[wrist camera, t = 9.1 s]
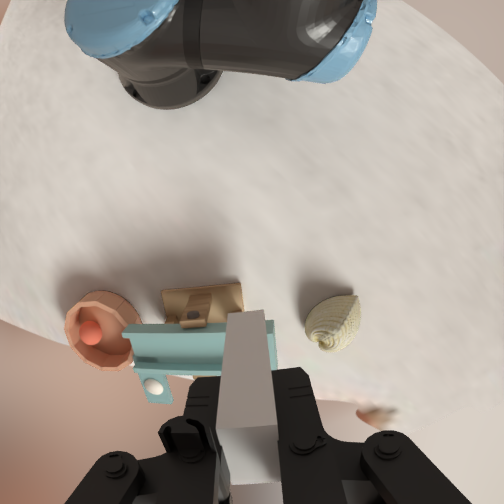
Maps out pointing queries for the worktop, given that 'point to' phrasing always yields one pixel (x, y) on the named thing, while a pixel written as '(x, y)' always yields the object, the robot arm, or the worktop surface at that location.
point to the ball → (90, 332)
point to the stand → (202, 305)
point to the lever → (180, 353)
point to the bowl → (103, 330)
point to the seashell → (334, 322)
